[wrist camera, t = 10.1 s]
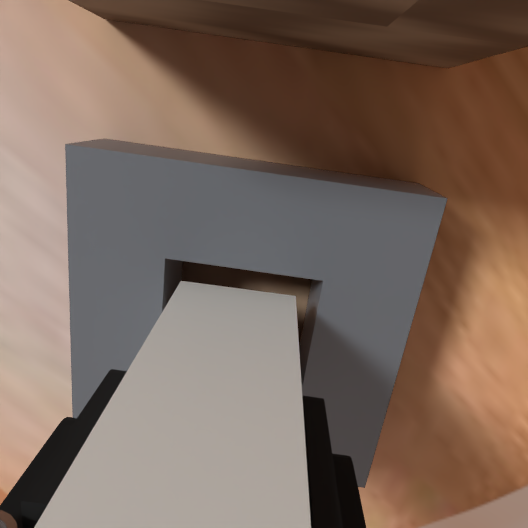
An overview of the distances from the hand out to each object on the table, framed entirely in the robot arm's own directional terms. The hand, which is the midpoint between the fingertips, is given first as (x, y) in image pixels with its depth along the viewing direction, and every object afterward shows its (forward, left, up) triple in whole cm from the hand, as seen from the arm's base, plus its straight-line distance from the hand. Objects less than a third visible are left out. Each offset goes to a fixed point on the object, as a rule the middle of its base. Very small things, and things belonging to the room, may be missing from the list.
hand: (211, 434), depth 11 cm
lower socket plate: (0, 0, -8) cm, 8 cm away
